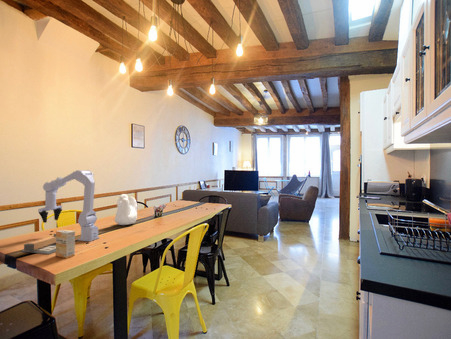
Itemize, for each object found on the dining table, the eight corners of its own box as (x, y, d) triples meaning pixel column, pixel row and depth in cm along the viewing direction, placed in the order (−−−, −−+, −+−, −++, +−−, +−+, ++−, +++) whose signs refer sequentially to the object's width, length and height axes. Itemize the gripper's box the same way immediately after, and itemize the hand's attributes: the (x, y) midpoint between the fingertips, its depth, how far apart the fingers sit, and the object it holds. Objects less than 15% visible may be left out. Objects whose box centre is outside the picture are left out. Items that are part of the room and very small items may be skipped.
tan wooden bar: (55, 241, 145) (55, 233, 145) (60, 242, 144) (61, 233, 144) (24, 252, 127) (24, 242, 127) (30, 252, 126) (30, 243, 126)
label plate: (68, 247, 138) (68, 245, 138) (48, 254, 127) (48, 253, 127) (42, 244, 142) (42, 243, 142) (21, 251, 130) (21, 249, 130)
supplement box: (55, 256, 124) (55, 231, 124) (64, 253, 129) (64, 228, 129) (66, 258, 121) (66, 232, 121) (75, 255, 126) (75, 230, 126)
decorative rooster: (125, 228, 182) (125, 195, 182) (109, 226, 188) (109, 194, 188) (147, 221, 205) (147, 192, 205) (132, 219, 211) (132, 191, 211)
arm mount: (62, 243, 145) (62, 242, 145) (55, 245, 141) (55, 244, 140) (56, 242, 146) (56, 241, 146) (49, 245, 141) (49, 243, 141)
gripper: (56, 198, 166) (56, 218, 166) (34, 201, 152) (34, 223, 152) (64, 199, 164) (64, 219, 164) (43, 202, 150) (43, 224, 150)
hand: (50, 221), depth 158 cm, fingers open, 7 cm apart
